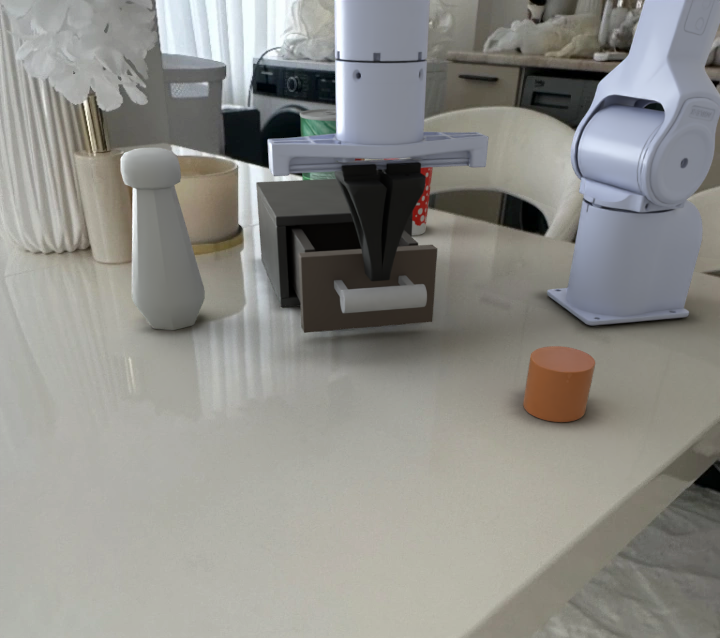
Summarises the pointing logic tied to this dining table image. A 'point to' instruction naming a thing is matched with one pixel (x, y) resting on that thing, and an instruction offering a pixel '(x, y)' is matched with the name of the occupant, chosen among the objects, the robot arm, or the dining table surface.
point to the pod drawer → (357, 280)
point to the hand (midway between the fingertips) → (377, 276)
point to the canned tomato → (319, 125)
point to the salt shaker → (161, 242)
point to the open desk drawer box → (296, 222)
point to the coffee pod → (558, 383)
